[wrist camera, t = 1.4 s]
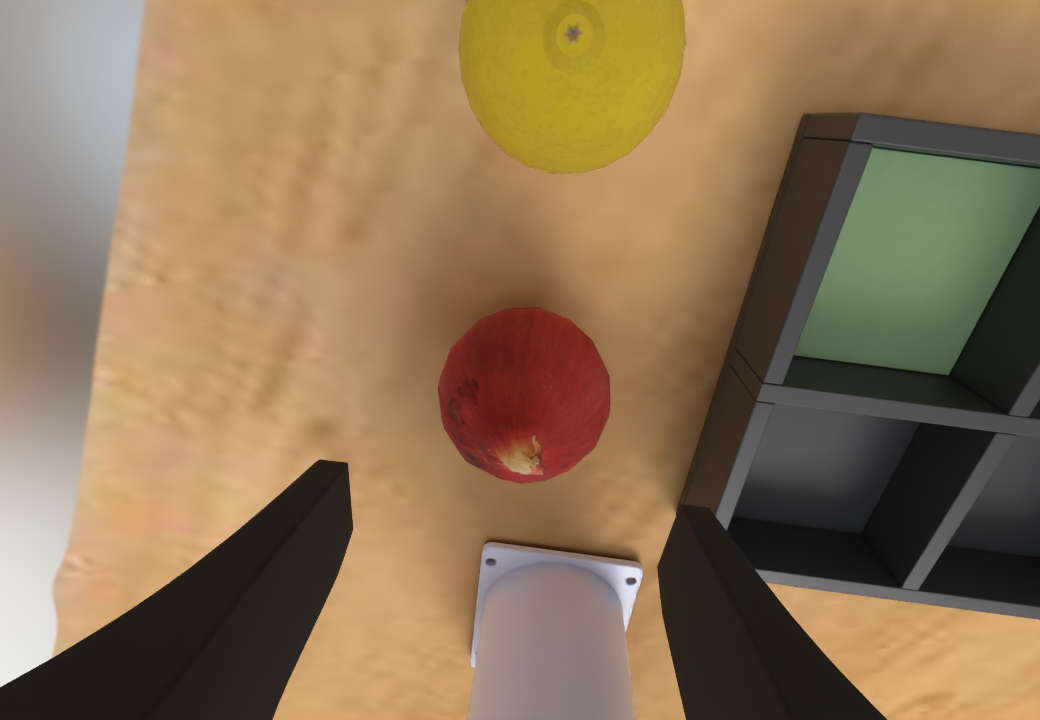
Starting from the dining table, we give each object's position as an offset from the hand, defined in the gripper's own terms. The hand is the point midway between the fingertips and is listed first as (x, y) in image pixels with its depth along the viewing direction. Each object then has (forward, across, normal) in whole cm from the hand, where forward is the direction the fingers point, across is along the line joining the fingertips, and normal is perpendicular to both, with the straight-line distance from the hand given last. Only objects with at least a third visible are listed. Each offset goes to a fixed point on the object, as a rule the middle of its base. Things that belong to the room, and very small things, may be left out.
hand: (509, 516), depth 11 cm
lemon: (+11, 0, -8) cm, 14 cm away
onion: (+11, 0, +2) cm, 11 cm away
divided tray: (+10, -17, 0) cm, 19 cm away
